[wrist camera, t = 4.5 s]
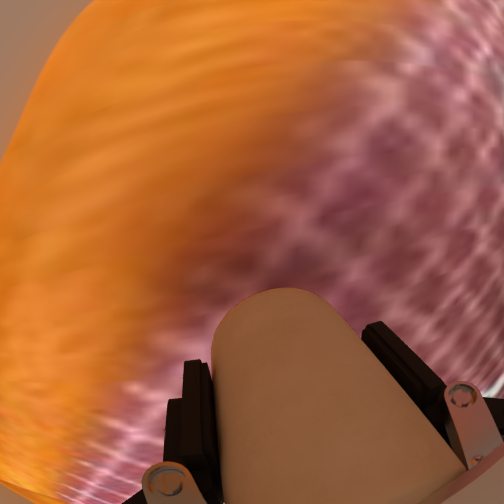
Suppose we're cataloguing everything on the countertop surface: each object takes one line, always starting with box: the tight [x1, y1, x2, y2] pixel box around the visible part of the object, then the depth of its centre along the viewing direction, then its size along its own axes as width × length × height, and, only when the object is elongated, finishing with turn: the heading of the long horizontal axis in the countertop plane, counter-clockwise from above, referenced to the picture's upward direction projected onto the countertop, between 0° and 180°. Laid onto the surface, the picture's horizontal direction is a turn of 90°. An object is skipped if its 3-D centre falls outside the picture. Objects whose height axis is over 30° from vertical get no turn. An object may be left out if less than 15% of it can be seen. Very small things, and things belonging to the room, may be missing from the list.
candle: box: [211, 288, 466, 504], centre depth 7 cm, size 6×6×10 cm
